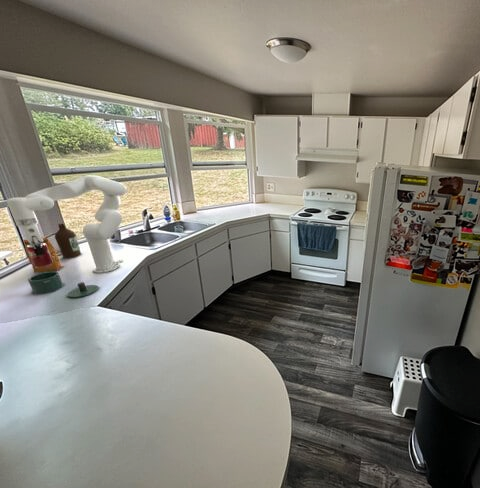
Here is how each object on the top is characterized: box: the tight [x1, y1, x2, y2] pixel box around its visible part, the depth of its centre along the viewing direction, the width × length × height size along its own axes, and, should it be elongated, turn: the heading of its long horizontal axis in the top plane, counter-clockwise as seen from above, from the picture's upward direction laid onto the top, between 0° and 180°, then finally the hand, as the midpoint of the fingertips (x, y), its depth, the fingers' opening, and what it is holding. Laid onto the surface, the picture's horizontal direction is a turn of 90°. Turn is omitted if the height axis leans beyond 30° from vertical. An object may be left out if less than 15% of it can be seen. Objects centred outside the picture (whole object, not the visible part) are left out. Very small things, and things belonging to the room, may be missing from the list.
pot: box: [27, 271, 64, 295], centre depth 141 cm, size 12×17×8 cm
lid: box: [67, 281, 99, 298], centre depth 139 cm, size 13×13×6 cm
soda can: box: [26, 243, 53, 268], centre depth 136 cm, size 7×7×12 cm
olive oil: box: [54, 222, 82, 259], centre depth 181 cm, size 11×11×25 cm
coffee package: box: [23, 237, 63, 274], centre depth 160 cm, size 10×12×22 cm
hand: (39, 253), depth 135 cm, fingers closed on soda can, 7 cm apart
